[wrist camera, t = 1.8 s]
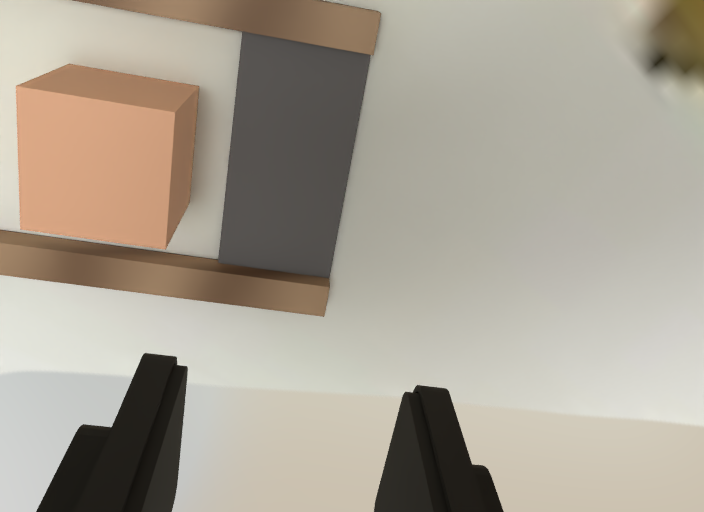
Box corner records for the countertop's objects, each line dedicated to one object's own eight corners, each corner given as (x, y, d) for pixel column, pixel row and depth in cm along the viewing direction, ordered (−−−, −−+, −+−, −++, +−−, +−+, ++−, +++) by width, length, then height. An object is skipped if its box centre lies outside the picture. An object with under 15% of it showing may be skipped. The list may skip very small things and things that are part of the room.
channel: (377, 11, 25) (381, 13, 24) (323, 303, 30) (324, 316, 29) (-186, -97, 22) (-212, -100, 21) (-138, 242, 27) (-157, 254, 26)
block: (199, 85, 26) (175, 112, 21) (189, 202, 28) (165, 249, 23) (69, 63, 25) (16, 86, 20) (69, 184, 27) (20, 229, 22)
